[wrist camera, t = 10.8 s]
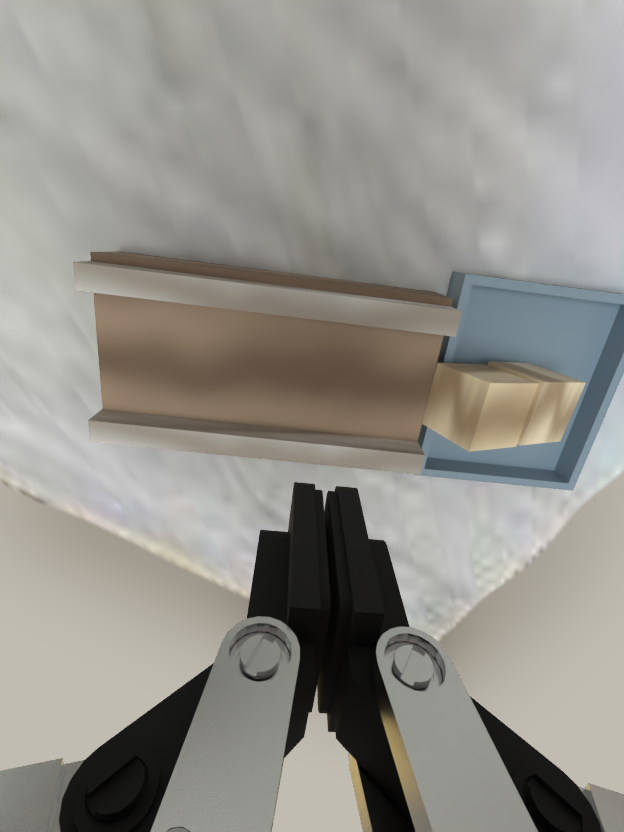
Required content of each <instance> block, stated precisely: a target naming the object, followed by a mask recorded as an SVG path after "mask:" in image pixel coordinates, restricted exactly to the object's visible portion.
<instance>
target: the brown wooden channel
mask: <svg viewBox="0 0 624 832" xmlns="http://www.w3.org/2000/svg"><path fill="white" fill-rule="evenodd" d="M90 254H91V261H84V262H73V265H74V275H75V286H76V291H84V292H93V293H94V304H95V316H96V329H97V342H98V354H99V367H100V379H101V392H102V405H103V409H102V410H101V411H100V412H98V413H97V414H96V415H95V416H93V417H92V418H91V419H90V420H88V422H89V432H90V442H100V443H110V444H120V445H130V446H140V447H150V448H160V449H170V450H180V451H190V452H200V453H210V454H220V455H230V456H240V457H250V458H260V459H270V460H280V461H290V462H300V463H310V464H320V465H330V466H340V467H350V468H360V469H370V470H380V471H391V472H401V473H411V474H420V473H421V469H422V465H423V461H424V457H425V454H424V452H423V451H422V449H421V447H420V446H419V444H418V438H419V433H420V429H421V425H422V421H423V417H424V413H425V409H426V405H427V401H428V397H429V393H430V389H431V385H432V381H433V377H434V373H435V369H436V365H437V361H438V356H439V352H440V348H441V344H442V340H443V336H444V335H445V336H453V337H456V333H457V330H458V326H459V322H460V318H461V314H462V311H460V310H458V309H455V308H453V307H451V304H452V300H453V298H450V297H447V296H444V295H441V294H438V293H435V292H429V291H421V290H413V289H405V288H398V287H390V286H382V285H374V284H366V283H359V282H351V281H343V280H335V279H328V278H320V277H312V276H304V275H297V274H289V273H281V272H273V271H265V270H258V269H250V268H242V267H234V266H227V265H219V264H211V263H203V262H196V261H188V260H180V259H172V258H164V257H157V256H149V255H141V254H133V253H126V252H90Z"/></svg>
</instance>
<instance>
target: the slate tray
mask: <svg viewBox="0 0 624 832" xmlns="http://www.w3.org/2000/svg"><path fill="white" fill-rule="evenodd" d="M447 297H450V298H453V300H452V304H451V307H453V308H455V309H458V310H460V311H462V314H461V318H460V322H459V326H458V330H457V333H456V337H453V336H445V335H444V336H443V340H442V344H441V348H440V352H439V356H438V361H437V363H460V364H484V365H488V362H489V361H497V362H521V363H531V364H534V365H537V366H539V367H542V368H545V369H548V370H551V371H554V372H557V373H560V374H563V375H565V376H568V377H571V378H574V379H577V380H580V381H583V382H586V384H585V386H584V388H583V390H582V393H581V395H580V397H579V400H578V402H577V404H576V406H575V409H574V411H573V413H572V416H571V418H570V420H569V422H568V425H567V427H566V429H565V432H564V434H563V436H562V439H561V441H559V442H549V443H540V444H530V445H520V446H519V445H518V444H517V446H516V447H509V448H500V449H490V450H481V451H471V452H469V451H467V450H465V449H464V448H462V447H460V446H458V445H457V444H455V443H453V442H452V441H450V440H448V439H447V438H445V437H443V436H442V435H440V434H438V433H437V432H435V431H433V430H432V429H430V428H428V427H427V426H425V425H423V424H422V425H421V429H420V433H419V438H418V444H419V446H420V447H421V449H422V451H423V452H424V454H425V457H424V461H423V465H422V469H421V473H420V474H415V475H423V476H433V477H443V478H453V479H463V480H473V481H483V482H493V483H503V484H513V485H523V486H533V487H543V488H553V489H563V490H573V489H574V487H575V484H576V482H577V480H578V477H579V475H580V473H581V470H582V468H583V466H584V463H585V461H586V459H587V456H588V454H589V452H590V450H591V447H592V445H593V443H594V440H595V438H596V436H597V433H598V431H599V429H600V426H601V424H602V422H603V419H604V417H605V415H606V412H607V410H608V408H609V405H610V403H611V401H612V398H613V396H614V394H615V392H616V389H617V387H618V385H619V382H620V380H621V378H622V375H623V373H624V294H616V293H609V292H601V291H594V290H586V289H578V288H571V287H563V286H556V285H548V284H541V283H533V282H526V281H518V280H510V279H503V278H495V277H488V276H480V275H473V274H465V273H457V272H453V273H452V277H451V281H450V285H449V290H448V294H447ZM436 367H437V365H436ZM435 371H436V369H435ZM434 374H435V373H434ZM433 378H434V377H433ZM432 382H433V381H432ZM431 386H432V385H431ZM430 390H431V389H430ZM429 394H430V393H429ZM428 398H429V397H428Z"/></svg>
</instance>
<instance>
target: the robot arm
mask: <svg viewBox="0 0 624 832" xmlns="http://www.w3.org/2000/svg"><path fill="white" fill-rule="evenodd" d="M316 687H317V688H318V710H319V713H327V719H328V731H329V732H336V739H337V740H338V741H339V742H340V743H341V744H342V745H343V747H344V748H345V749H346V750H347V751H348V752H349V767H350V772H351V777H352V781H353V786H354V791H355V796H356V800H357V805H358V810H359V815H360V819H361V824H362V829H363V832H624V794H621V793H618V792H615V791H612V790H608V789H605V788H602V787H599V786H596V785H593V784H589V783H588V785H587V786H586V787H585V789H584V788H581V787H578V786H577V785H576V784H575V783H574V782H573V781H572V780H571V779H570V778H569V777H568V776H567V775H566V774H565V773H564V772H563V771H561V770H560V769H559V768H558V767H557V766H555V765H554V764H553V763H552V762H550V761H549V760H548V759H547V758H546V757H544V756H543V755H542V754H541V753H539V752H538V751H537V750H535V749H534V748H533V747H532V746H531V745H529V744H528V743H527V742H526V741H525V740H523V739H522V738H521V737H520V736H518V735H517V734H516V733H514V732H513V731H512V730H511V729H510V728H508V727H507V726H506V725H505V724H504V723H502V722H501V721H500V720H499V719H497V718H496V717H495V716H494V715H492V714H491V713H490V712H489V711H487V710H486V709H485V708H484V707H483V706H481V705H480V704H479V703H478V702H476V701H475V700H474V699H472V698H471V697H470V696H469V694H468V692H467V690H466V688H465V686H464V684H463V682H462V680H461V678H460V676H459V674H458V672H457V670H456V668H455V666H454V664H453V662H452V660H451V658H450V657H449V655H448V654H447V652H446V651H445V649H444V648H443V646H442V645H441V644H440V643H439V642H437V641H436V640H435V639H434V638H433V637H431V636H430V635H428V634H427V633H425V632H423V631H421V630H418V629H415V628H412V627H409V624H408V620H407V617H406V613H405V609H404V606H403V602H402V599H401V595H400V591H399V588H398V584H397V580H396V577H395V573H394V570H393V566H392V562H391V559H390V555H389V552H388V548H387V545H386V542H385V541H384V540H372V539H368V535H367V530H366V525H365V521H364V516H363V512H362V507H361V503H360V498H359V494H358V490H357V488H350V487H339V486H336V488H335V492H334V491H328V493H327V498H326V504H325V510H324V506H323V493H322V490H315V484H307V483H297V482H294V488H293V496H292V504H291V512H290V521H289V529H288V532H279V531H268V530H260V535H259V542H258V549H257V555H256V562H255V569H254V575H253V582H252V588H251V595H250V602H249V608H248V615H247V619H245V620H243V621H241V622H239V623H237V624H236V625H235V626H233V628H231V629H230V630H229V631H228V632H227V634H226V636H225V637H224V639H223V641H222V643H221V646H220V648H219V651H218V654H217V656H216V659H215V662H214V663H213V664H212V665H211V666H209V667H208V668H207V669H205V670H204V671H203V672H201V673H200V674H198V675H197V676H196V677H194V678H193V679H192V680H190V681H189V682H187V683H186V684H185V685H184V686H182V687H181V688H179V689H178V690H177V691H175V692H174V693H172V694H171V695H170V696H168V697H167V698H166V699H164V700H163V701H162V702H160V703H159V704H157V705H156V706H155V707H153V708H152V709H151V710H150V711H148V712H147V713H145V714H144V715H142V716H141V717H140V718H138V719H137V720H136V721H134V722H133V723H132V724H130V725H129V726H128V727H126V728H125V729H124V730H122V731H121V732H119V733H118V734H117V735H115V736H114V737H113V738H111V739H110V740H108V741H107V742H106V743H104V744H103V745H102V746H100V747H99V748H98V749H97V750H95V751H94V752H93V753H92V754H91V755H90V756H89V757H88V758H87V759H86V760H83V761H78V762H74V763H69V764H64V762H63V758H61V759H56V760H51V761H46V762H42V763H37V764H32V765H27V766H23V767H18V768H13V769H8V770H3V771H0V832H272V826H273V820H274V814H275V808H276V802H277V796H278V790H279V784H280V778H281V772H282V766H283V760H284V758H285V757H286V756H287V754H288V753H289V752H290V751H291V750H292V749H293V748H294V747H295V746H296V745H297V744H298V743H299V742H300V740H301V739H302V738H303V737H304V734H305V729H306V723H307V718H308V713H309V712H312V708H313V702H314V697H315V692H316Z"/></svg>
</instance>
